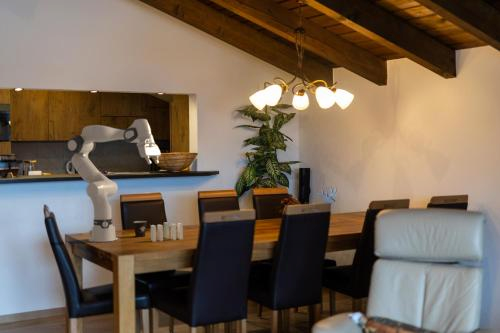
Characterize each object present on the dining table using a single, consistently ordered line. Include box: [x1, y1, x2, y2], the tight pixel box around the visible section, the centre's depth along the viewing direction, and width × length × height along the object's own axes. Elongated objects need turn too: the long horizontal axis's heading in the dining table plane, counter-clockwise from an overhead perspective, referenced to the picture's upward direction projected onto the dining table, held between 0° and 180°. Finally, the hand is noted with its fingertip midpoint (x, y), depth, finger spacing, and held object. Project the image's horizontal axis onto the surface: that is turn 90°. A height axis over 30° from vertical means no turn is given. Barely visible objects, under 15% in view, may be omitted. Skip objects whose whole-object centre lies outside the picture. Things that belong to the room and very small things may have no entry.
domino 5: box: [176, 222, 184, 240], centre depth 444 cm, size 5×2×10 cm, turn 25°
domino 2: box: [156, 224, 164, 242], centre depth 438 cm, size 5×2×10 cm, turn 25°
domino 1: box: [150, 224, 157, 243], centre depth 436 cm, size 5×2×10 cm, turn 25°
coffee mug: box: [133, 220, 151, 238], centre depth 459 cm, size 12×9×10 cm
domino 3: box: [163, 221, 170, 239], centre depth 450 cm, size 5×2×10 cm, turn 25°
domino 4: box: [170, 223, 177, 241], centre depth 442 cm, size 5×2×10 cm, turn 25°
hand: (153, 163), depth 426 cm, fingers open, 8 cm apart
